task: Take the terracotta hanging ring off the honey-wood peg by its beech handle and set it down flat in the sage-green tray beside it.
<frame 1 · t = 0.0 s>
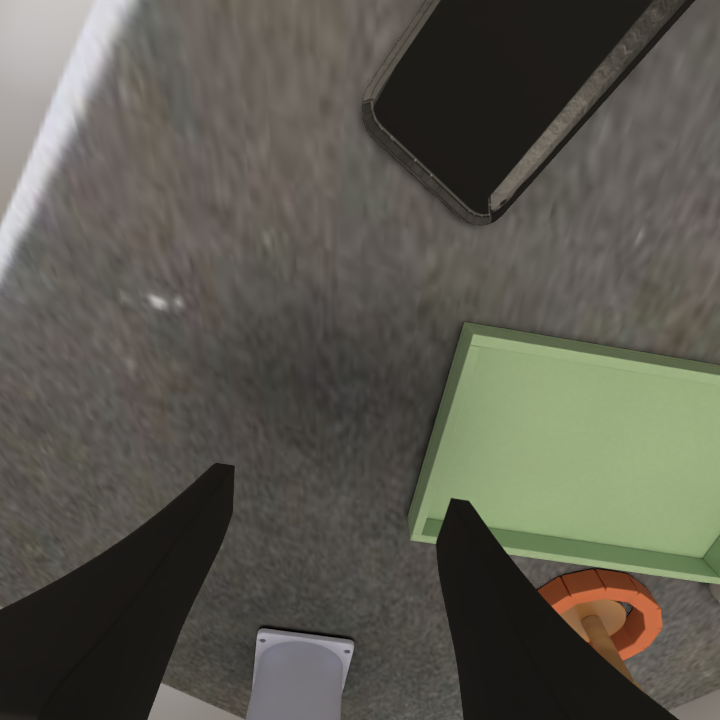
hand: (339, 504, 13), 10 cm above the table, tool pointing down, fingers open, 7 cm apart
phone: (541, 17, 15), on the table
tray: (598, 456, 24), on the table
ring: (585, 610, 29), on the table
peg stand: (585, 610, 29), on the table
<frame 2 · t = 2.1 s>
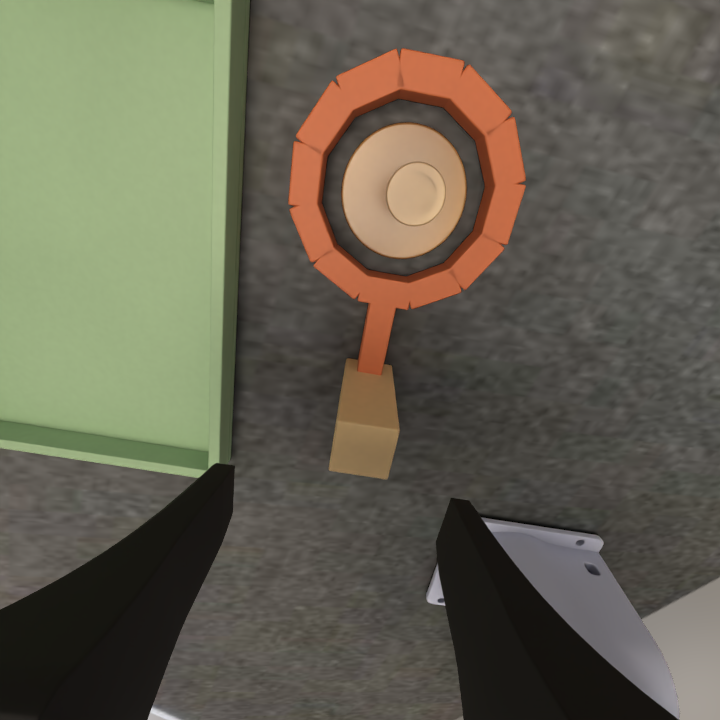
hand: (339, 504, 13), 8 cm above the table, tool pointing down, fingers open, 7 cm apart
tray: (88, 254, 18), on the table
ring: (402, 195, 16), on the table
peg stand: (402, 195, 16), on the table
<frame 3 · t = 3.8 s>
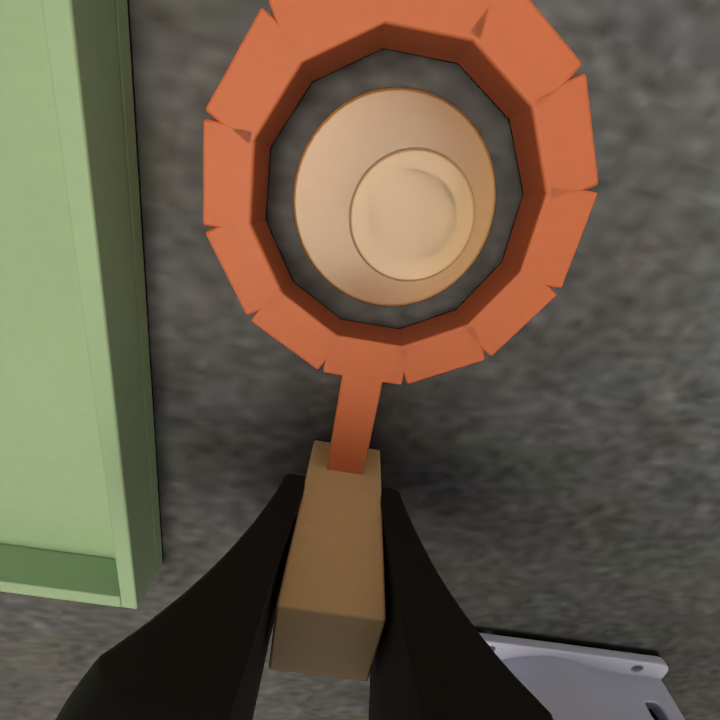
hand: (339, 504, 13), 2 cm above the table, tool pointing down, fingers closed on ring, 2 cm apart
ring: (391, 207, 10), on the table, touching gripper
peg stand: (391, 207, 10), on the table
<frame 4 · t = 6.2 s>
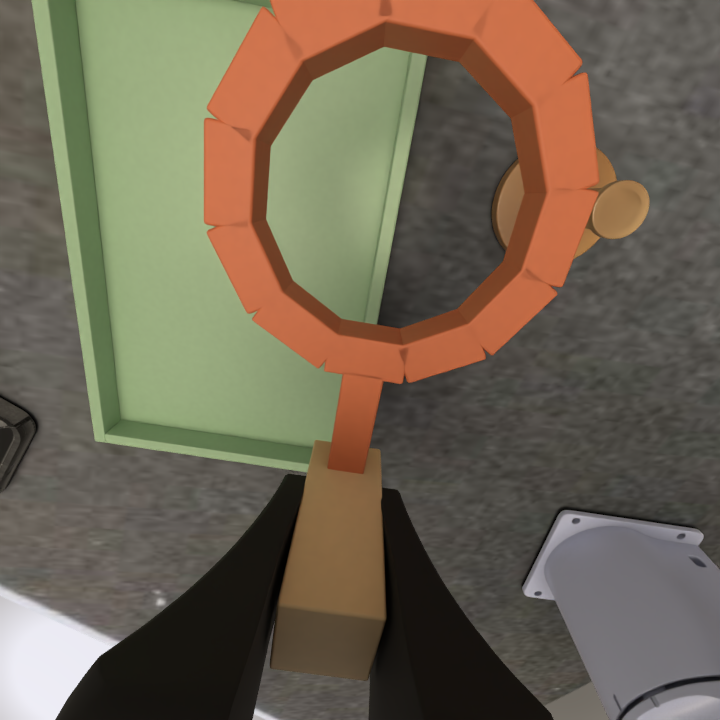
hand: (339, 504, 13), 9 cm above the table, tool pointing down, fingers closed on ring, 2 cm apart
tray: (240, 264, 19), on the table
ring: (392, 206, 10), point 8 cm above the table, touching gripper
peg stand: (548, 206, 17), on the table
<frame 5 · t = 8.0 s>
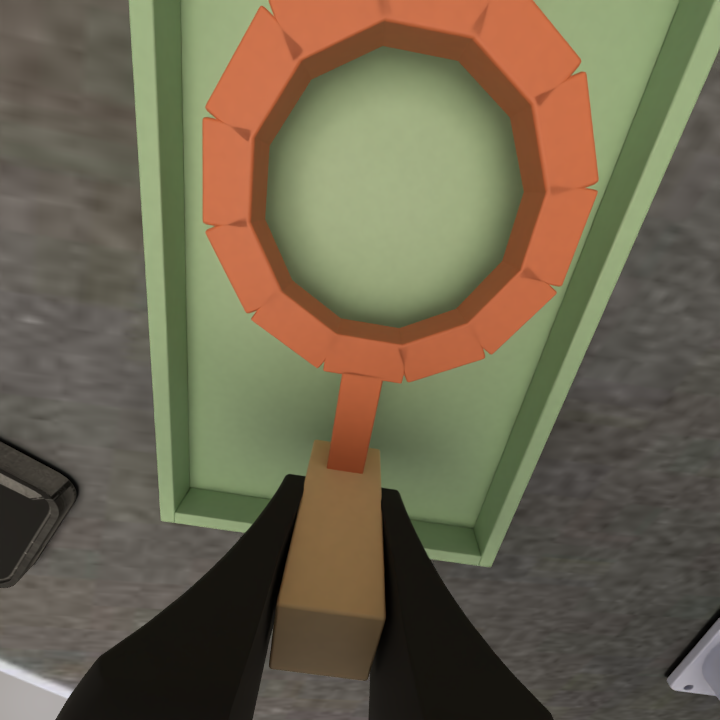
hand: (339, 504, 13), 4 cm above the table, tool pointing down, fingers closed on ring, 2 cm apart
tray: (372, 290, 14), on the table
ring: (391, 206, 10), point 2 cm above the table, touching gripper
when the fingers open (2 cm above the table, at t = 8.8 s): ring stays where it is, resting on tray.
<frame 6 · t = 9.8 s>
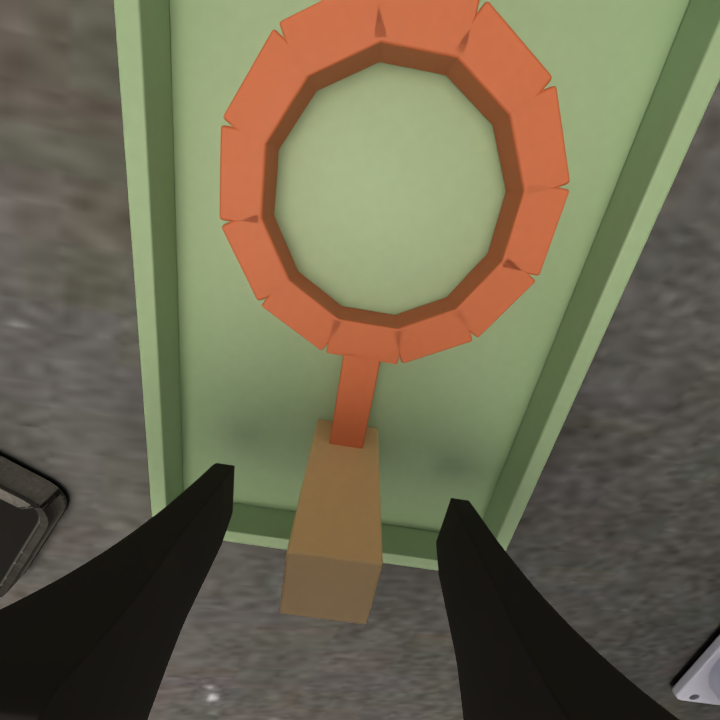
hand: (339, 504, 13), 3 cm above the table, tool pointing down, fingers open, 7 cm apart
tray: (372, 293, 13), on the table
ring: (387, 203, 12), resting on tray
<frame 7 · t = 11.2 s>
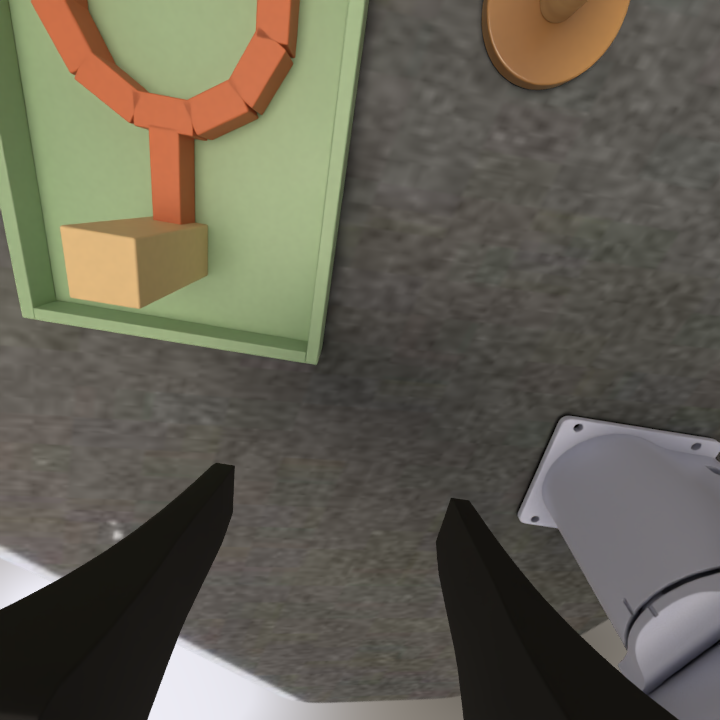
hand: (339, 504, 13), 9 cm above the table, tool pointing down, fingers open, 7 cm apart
tray: (186, 93, 16), on the table
peg stand: (549, 9, 15), on the table
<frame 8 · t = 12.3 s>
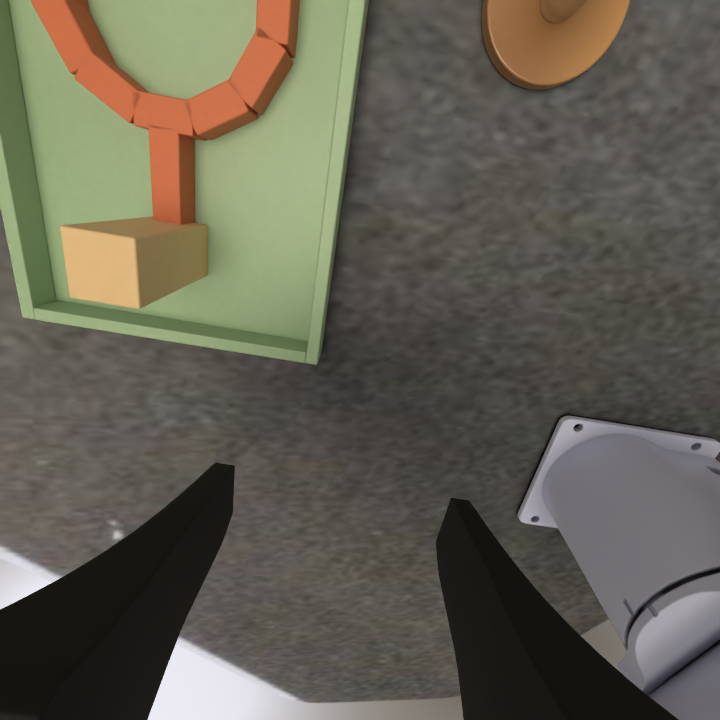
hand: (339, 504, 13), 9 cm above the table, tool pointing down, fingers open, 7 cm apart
tray: (186, 93, 16), on the table
peg stand: (549, 9, 15), on the table
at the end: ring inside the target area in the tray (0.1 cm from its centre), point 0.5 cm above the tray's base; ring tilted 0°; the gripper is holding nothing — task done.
